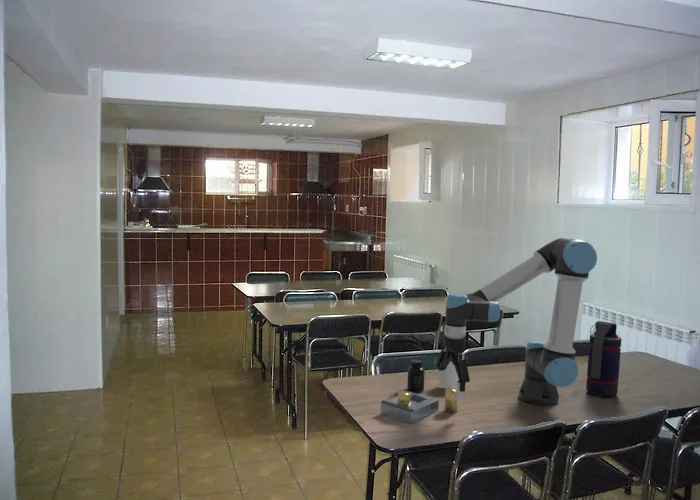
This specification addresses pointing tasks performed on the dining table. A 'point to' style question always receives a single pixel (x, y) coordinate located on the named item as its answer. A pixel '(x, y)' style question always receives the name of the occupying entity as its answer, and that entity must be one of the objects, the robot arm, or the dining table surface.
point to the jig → (409, 406)
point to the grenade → (603, 360)
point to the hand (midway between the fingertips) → (450, 393)
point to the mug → (451, 376)
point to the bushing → (451, 400)
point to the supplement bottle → (416, 376)
